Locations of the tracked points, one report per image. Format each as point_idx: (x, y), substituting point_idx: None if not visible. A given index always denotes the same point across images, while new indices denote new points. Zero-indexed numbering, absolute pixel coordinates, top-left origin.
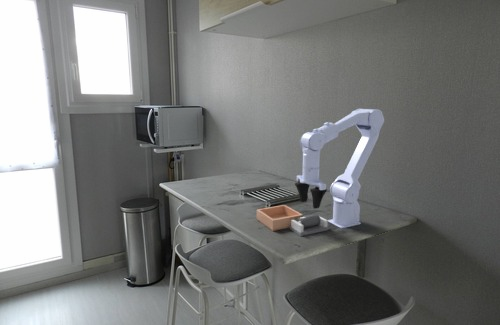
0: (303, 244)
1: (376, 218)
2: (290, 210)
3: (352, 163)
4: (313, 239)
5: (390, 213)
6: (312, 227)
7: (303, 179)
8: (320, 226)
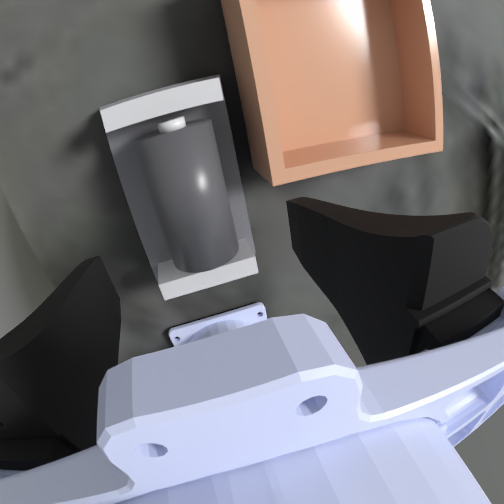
0: (18, 101)
1: None
2: (378, 147)
3: None
4: (61, 166)
5: None
6: None
7: (280, 490)
8: None
